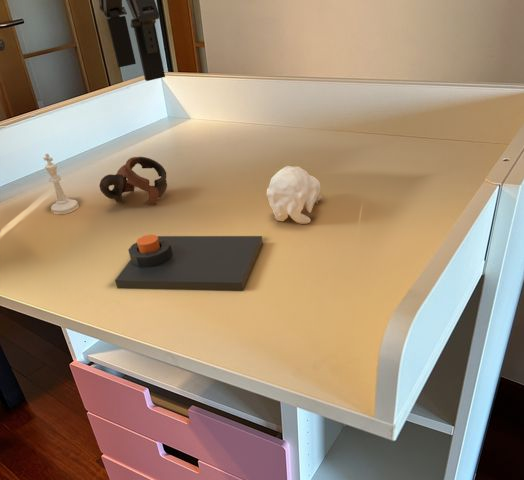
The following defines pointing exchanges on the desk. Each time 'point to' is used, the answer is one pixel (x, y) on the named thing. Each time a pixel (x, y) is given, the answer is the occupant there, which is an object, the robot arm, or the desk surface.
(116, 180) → the brown curved loop
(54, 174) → the chess piece
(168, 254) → the dark grey button base
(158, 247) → the button
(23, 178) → the desk surface
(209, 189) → the desk surface
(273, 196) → the white animal figurine
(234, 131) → the desk surface
